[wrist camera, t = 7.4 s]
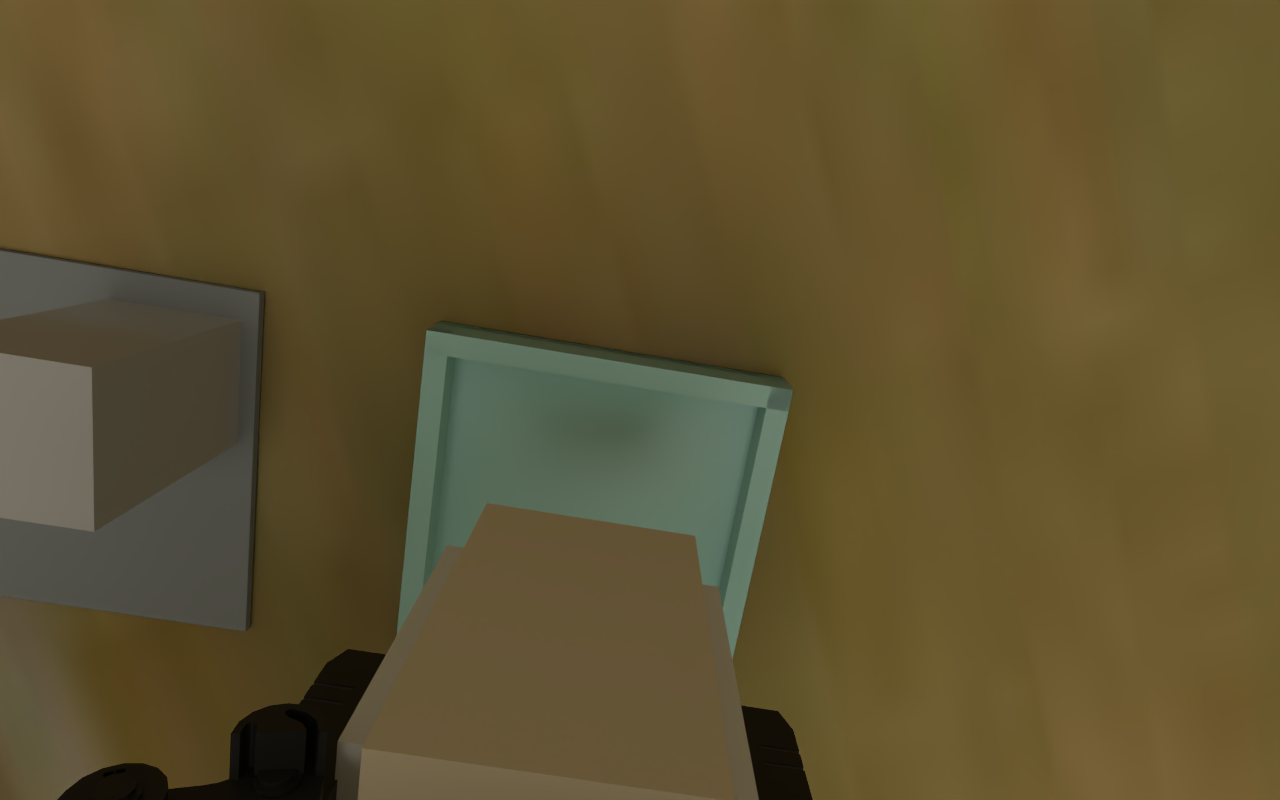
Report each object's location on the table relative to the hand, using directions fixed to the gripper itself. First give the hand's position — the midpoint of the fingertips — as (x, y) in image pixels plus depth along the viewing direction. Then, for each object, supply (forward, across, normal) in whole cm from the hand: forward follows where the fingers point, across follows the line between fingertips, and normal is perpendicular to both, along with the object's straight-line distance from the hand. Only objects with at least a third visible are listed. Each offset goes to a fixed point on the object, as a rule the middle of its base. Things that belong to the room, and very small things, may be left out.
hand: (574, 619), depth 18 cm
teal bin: (+12, 0, -3) cm, 13 cm away
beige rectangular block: (0, 0, 0) cm, 0 cm away
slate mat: (+12, -20, -3) cm, 23 cm away
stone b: (+12, -16, 0) cm, 20 cm away
